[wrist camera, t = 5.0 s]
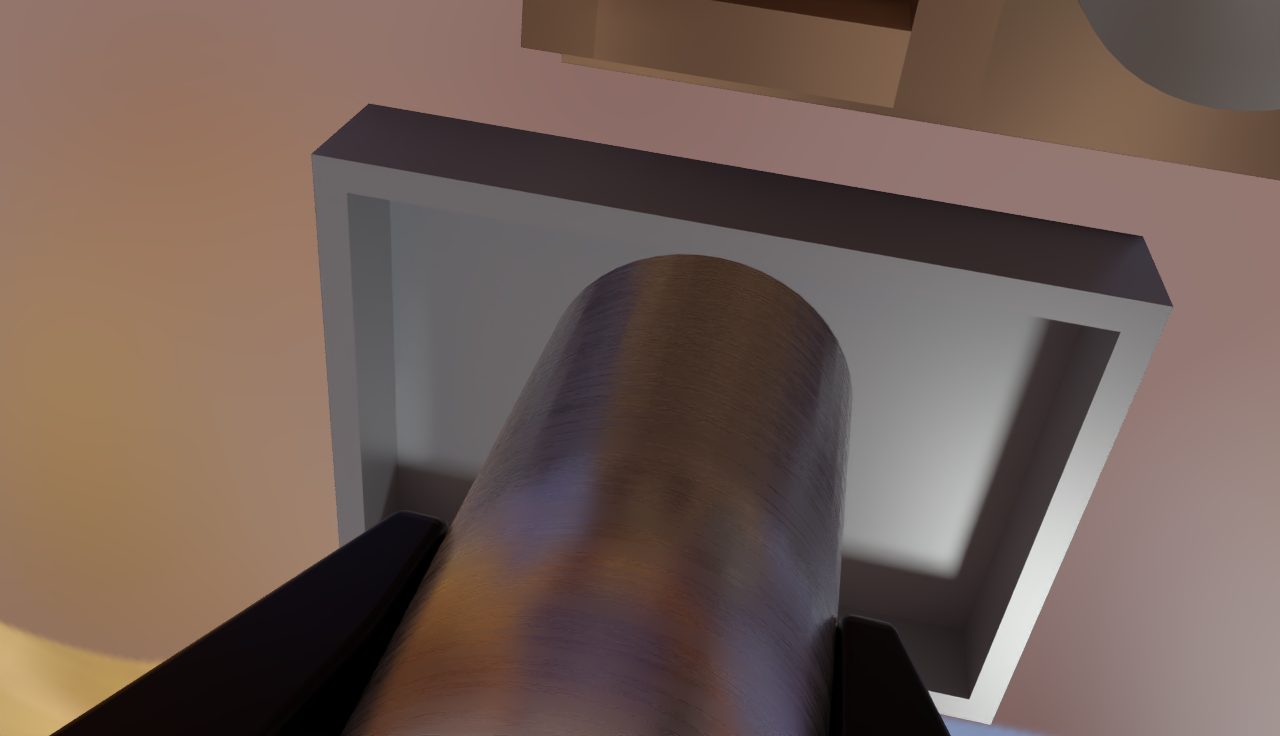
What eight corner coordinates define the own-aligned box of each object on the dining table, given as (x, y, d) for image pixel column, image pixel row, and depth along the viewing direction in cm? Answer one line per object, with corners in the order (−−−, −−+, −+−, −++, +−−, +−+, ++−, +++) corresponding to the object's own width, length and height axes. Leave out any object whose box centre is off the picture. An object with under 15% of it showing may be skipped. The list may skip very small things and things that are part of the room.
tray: (1142, 236, 19) (1173, 307, 17) (981, 635, 25) (990, 724, 23) (369, 104, 21) (311, 154, 19) (384, 510, 26) (342, 583, 24)
